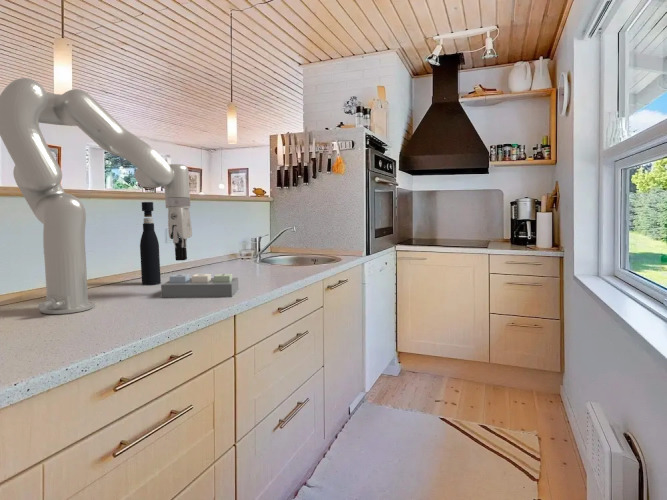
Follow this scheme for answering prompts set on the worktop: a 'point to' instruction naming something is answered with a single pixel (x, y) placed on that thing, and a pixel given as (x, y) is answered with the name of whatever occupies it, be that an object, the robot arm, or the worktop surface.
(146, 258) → the wine bottle
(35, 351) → the worktop surface
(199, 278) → the key cream
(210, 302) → the worktop surface
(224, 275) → the key sage
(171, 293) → the key panel
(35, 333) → the worktop surface
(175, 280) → the key blue
